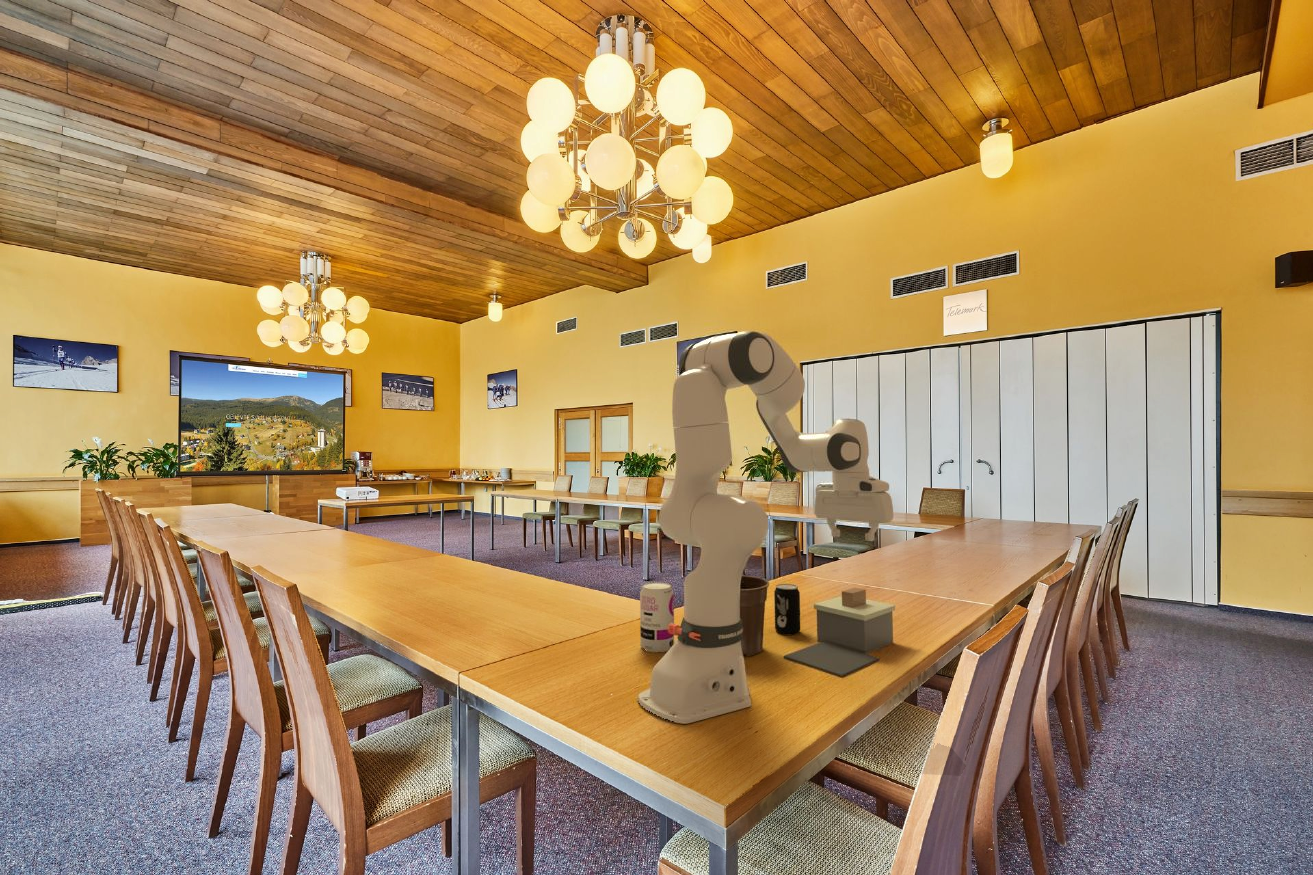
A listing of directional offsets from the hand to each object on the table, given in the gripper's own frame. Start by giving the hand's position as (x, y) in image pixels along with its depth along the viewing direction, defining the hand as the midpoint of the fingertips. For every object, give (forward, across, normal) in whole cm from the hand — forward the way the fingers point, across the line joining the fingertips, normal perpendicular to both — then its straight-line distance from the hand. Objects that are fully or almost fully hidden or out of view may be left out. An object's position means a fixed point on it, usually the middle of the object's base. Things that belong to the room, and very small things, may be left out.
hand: (852, 538), depth 140 cm
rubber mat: (+26, +3, -15) cm, 30 cm away
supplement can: (+26, -29, -40) cm, 56 cm away
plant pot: (+26, -16, -26) cm, 40 cm away
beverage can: (+26, -16, -6) cm, 31 cm away
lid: (+19, 0, 0) cm, 19 cm away
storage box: (+26, 0, 0) cm, 26 cm away
